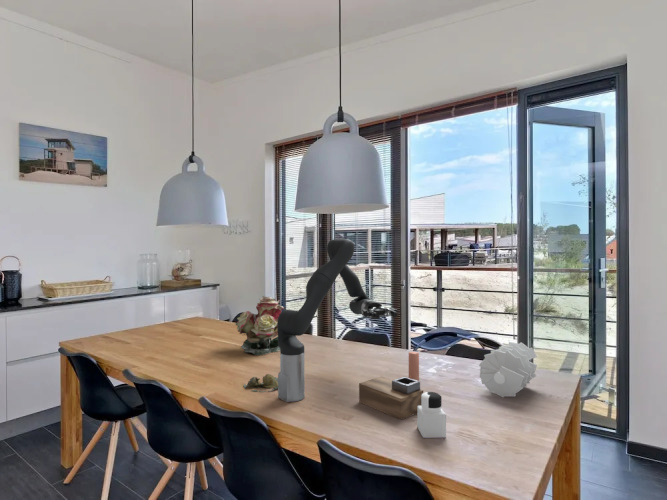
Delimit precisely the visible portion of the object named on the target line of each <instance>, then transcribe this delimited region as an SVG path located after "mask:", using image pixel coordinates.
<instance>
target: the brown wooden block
mask: <svg viewBox="0 0 667 500" xmlns="http://www.w3.org/2000/svg"><path fill="white" fill-rule="evenodd" d="M423 393H424V389H421V381H420V380H419V381H417V380H414V379H411V378H409V376H408V377H407V376H402V377H399V378H396V379H390V378H387V377H384V376H378V377H375V378H372V379H369V380H365V381H361V382H360V383H358V395H359V396H358V401H359V402H358V403H361V404H363V405H365V406H367V407H369V408H372V409H375V410H377V411H378V412H379V411H380V412H381V413H384V414H386V415H388V416H391V417H393V418H395V419H398V420H400V421H402V420H404V419H406V418H409V417H411V416H414V415H416V414H417V406H421V395H422V394H423ZM413 414H414V415H413Z"/></svg>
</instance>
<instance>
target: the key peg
mask: <svg viewBox="0 0 667 500" xmlns="http://www.w3.org/2000/svg"><path fill="white" fill-rule="evenodd" d="M408 378H411V379H414V380H417V381H420V353H419V352H418V351H409V352H408Z"/></svg>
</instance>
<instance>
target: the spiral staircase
mask: <svg viewBox="0 0 667 500" xmlns="http://www.w3.org/2000/svg"><path fill="white" fill-rule="evenodd" d="M483 357H484V358H483V360H481V362H480V363H479V365H478V366H479V367H480V370H479V378H480V381H481V384H482V385H484V386H485V387H486V388H487V390H488V391H489V392H490V393H491V394H495V395H498V396H499V397H502V398H503V399H505V397H516V394H517V393H520V391H522V390H523V389H524V388H526V387H528V384H530V383H531V381H532V380H533V379H534V378H536V377H537V374H536V373H535V372H536V368H537V366H538V364H536V363H534V362H531V361H530V360H533V359H534V358H538V356H537V354H536V352H535V350H534V347H528V346H527V344H524V343H523V342H519V343H517V342H511V341H508V343H507V344H505V345H504V344H502V346H498V349H493V350H490V353H487V354H484V355H483Z"/></svg>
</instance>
